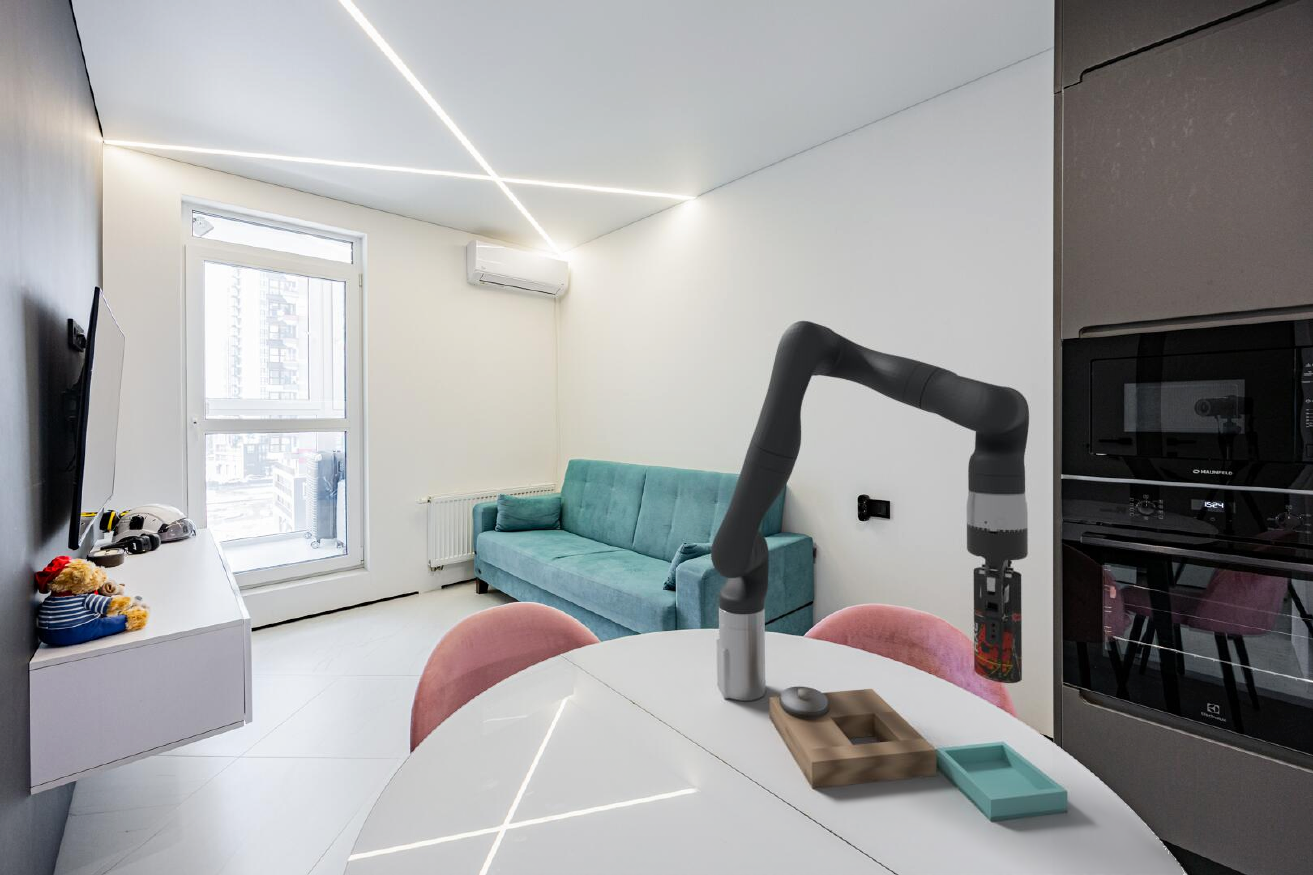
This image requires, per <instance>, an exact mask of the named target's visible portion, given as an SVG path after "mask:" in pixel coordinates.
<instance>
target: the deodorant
mask: <svg viewBox="0 0 1313 875" xmlns="http://www.w3.org/2000/svg"><path fill="white" fill-rule="evenodd" d="M980 568H982V566H980V567H975V568H973V658H974V659H973V667H974V668H973V669H974V672H975V673H976V674H977V675H978V676H980V677H982V678H984V679H986V680H989V681H992V682H997V683H1001V684H1002V683H1003V684H1015V683H1020V682H1021V681H1022V680H1023V679H1022V678H1023V676H1022V675H1023V674H1022V673H1023V671H1022V670H1023V668H1022V665H1023V664H1022V660H1023V656H1022V654H1023V650H1022V648H1023V647H1022V644H1023V643H1022V641H1023V640H1022V638H1023V637H1022V636H1023V632H1022V629H1023V628H1022V626H1023V625H1022V621H1023V620H1022V619H1023V618H1022V614H1023V613H1022V611H1023V610H1022V573H1020V572H1019V571H1016V570H1014V572H1013V573H1012V577H1011V578H1010V577H1004V585H1003V589H1002V591H1003V595H1004V591H1005V588H1006V587H1007V586H1008V585H1009V603H1007V604H1005V613H1004V614H1005V618H1004V643H1003V645H1002V646H997V645H992V644H988V643H987V642H986V641H985V617H983V616H982V614H981V610H982V608H981V597H980V590H981V581H980V578H981V575H983V576H985V574H980V573H979V571H980ZM988 608H990V609H996V610H998V605H997V604H996V603H991V602H988Z"/></svg>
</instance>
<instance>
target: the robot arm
mask: <svg viewBox="0 0 1313 875" xmlns="http://www.w3.org/2000/svg"><path fill="white" fill-rule="evenodd" d="M813 376H823V377H830V378H835V379H840V380H846V381H850V382H853V383H856V384H859V385H863V386H864V387H867V388H869V389H871V390H873V391H875V392H877V393H879V394H881V395H883V396H885V397H887V398H889V399H892V400H895V401H897V402H899V403H902V404H904V405H908V406H910V407H913V408H916V409H918V410H921V411H923V412H928V413H931V414H935V415H938V416H939V417H942V418H943V419H945V420H948V421H950V422H952V423H955V424H956V425H958V426H961V427H963V428H966V429H968V430H970V431H973V432H975V439H974V440H975V441H974V451H973V453H972V454H971V455H970V456H969V460H968V461H969V462H968V468H967V469H968V471H967V472H968V474H967V475H968V477H967V478H968V480H967V482H968V484H967V485H968V486H967V487H968V493H967V494H968V495H967V500H966V501H967V502H966V550H967V552H968V554H971V555H973V556H975V557H981V558H983V559H984V560H985V561H984V563H982V564H981V567H982V568H980V571H979V573H980V574H985V576H983V575H981V578H980V581H981V590H980V597H981V608H982V610H981V614H982V616H983V617H985V641H986V642H987V643H988V644H992V645H997V646H1002V645H1003V643H1004V618H1005V614H1004V613H1005V604H1007V603H1009V585H1008V586H1007V587H1006V588H1005V591H1004V595H1003V591H1002V589H1003V585H1004V577H1010V578H1011V577H1012V573H1013V572H1014V571H1015V568H1014V567H1012V564H1013V561H1018V560H1019V561H1020V560H1023V559H1026V558H1027V557H1028V554H1029V551H1028V549H1029V548H1028V546H1029V544H1028V543H1029V542H1028V541H1029V538H1028V537H1029V536H1028V533H1029V532H1028V531H1029V530H1028V525H1029V524H1028V522H1029V521H1028V520H1029V519H1028V515H1029V514H1028V512H1029V511H1028V503H1027V497H1026V468H1025V454H1026V450H1027V449H1026V448H1027V442H1028V434H1029V427H1030V426H1029V425H1030V409H1029V408H1030V407H1029V405H1028V401H1027V399H1026V398H1025V396H1024V395H1023V394H1022V393H1021V391H1019V390H1018V389H1015V388H1012V387H1009V386H1001V385H997V384H992V383H988V382H985V381H981V380H977V379H973V378H969V377H965V376H962V375H959V374H957V373H956V372H954V371H951V370H950V369H945V368H944V367H940V366H937V365H933V364H930V363H926V362H923V361H920V360H917V359H912V358H908V357H905V356H900V355H894V354H889V353H886V352H881V351H877V350H874V349H871V348H869V347H865V346H862V345H861V344H858V343H856V342H854V341H852V340H851V339H849V338H847V337H844V336H843V335H841V334H839V333H837V332H835V331H834V330H833V329H831V328H829V327H827V326H825V325H821V324H818V323H815V322H812V321H809V320H808V321H807V320H800V321H797V322H794V323H792V324H791V325H790V326H788V328H787V329H786V330H784V333H782V335H781V338H780V340H779V343H778V345H777V349H776V353H775V356H774V362H773V366H772V369H771V375H770V380H769V385H768V387H767V392H766V395H765V398H764V401H763V404H762V408H761V410H760V413H759V417H758V419H757V422H756V425H755V428H754V431H753V434H752V436H751V440H750V442H749V444H748V448H747V450H746V454H745V457H744V460H743V464H742V468H741V470H740V473H739V476H738V479H737V481H736V486H735V488H734V492H733V494H732V498H731V500H730V503H729V506H728V508H727V511H726V513H725V515H724V517H723V518H722V519H723V520H722V521H721V524H720V525H719V528H718V530H717V532H716V534H715V536H714V538H713V541H712V544H711V550H710V557H711V563H712V565H713V567H714V570H716V572H717V573H718V574H719V575H720V576H722V577H724V578H726V579H725V582H724V584H723V586H722V587H721V589H720V591H719V593H718V632H719V633H718V635H719V636H718V639H716V682H717V683H716V685H717V687H718V689H719V691H720V692H721V695H722V697H723V699H730V700H736V701H743V702H744V701H748V702H749V701H755V700H758V699H761V697H762V698H763V697H764V695H766V694H765V693H766V682H767V681H766V635H765V634H766V631H765V630H766V626H765V621H766V620H765V618H766V617H765V615H766V614H765V601H766V600H765V599H766V598H767V594H768V589H769V572H770V569H769V568H770V566H769V564H770V563H769V562H770V557H769V556H770V554H769V546H768V542H767V540H766V538H765V536H764V534H763V533H762V532H761V530H760V528H761V525H762V522H763V521H764V518H765V516H766V515H767V513H768V512H769V510H770V508H772V506H773V504H774V503H775V502H776V500H777V499H778V497H779V496H780V494H781V493H782V492H783V490H784V488H785V487H786V485H787V483H788V482H789V479H790V477H791V476H792V472H793V470H794V467H795V465H796V461H797V460H798V457H799V454H800V450H801V446H802V445H801V444H802V420H801V419H802V417H801V416H802V406H803V401H804V397H805V395H806V392H807V390H808V386H809V385H810V384H809V383H810V381H811V380H812V377H813ZM988 602H991V603H996V604H997V605H998V610H996V609H990V608H988Z"/></svg>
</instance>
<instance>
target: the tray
mask: <svg viewBox="0 0 1313 875" xmlns="http://www.w3.org/2000/svg"><path fill="white" fill-rule="evenodd" d="M935 749H936V769H938V770H939V771H940V772H941V773H942V775H943V776H945V778H947V779H948V780H949V781H950V782H951V784H952V785H953V786H954V787H956V788H957V787H958V788H959V789H958V788H957V789H958V790H959V791H960V793H962V794H963V795H964V796H965V798H967V799H968V800H969V801H970V800H971V801H970V802H971V803H972V804H973V805H974V806H975V807H976V809H978V810H979V811H980V812H981V814H983V815H984V816H985V817H986V818H987V819H988V820H989V821H990V822H996V821H1004V820H1006V821H1007V820H1011V819H1012V820H1013V819H1021V818H1031V817H1038V816H1039V817H1040V816H1046V815H1048V816H1049V815H1055V814H1064V813H1068V790H1067V789H1066V788H1064V787H1063V786H1062V785H1060V784H1059V783H1058V782H1056V780H1054V779H1053V778H1051V777H1050V776H1049V775H1047V774H1046V773H1045V772H1043V771H1042V770H1041V769H1040V768H1038V767H1037V766H1036V765H1035V764H1033V763H1032V762H1031V761H1029V760H1028V759H1027V758H1026V757H1024V756H1023V755H1021V754H1020V753H1019V752H1017V751H1016V750H1015V749H1014V748H1013V747H1011V745H1009V744H1008V743H1006V742H1005V741H997V742H996V741H995V742H983V743H976V744H975V743H974V744H964V745H958V746H957V745H956V746H954V745H953V746H944V747H936V748H935Z"/></svg>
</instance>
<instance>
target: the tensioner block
mask: <svg viewBox="0 0 1313 875" xmlns="http://www.w3.org/2000/svg"><path fill="white" fill-rule="evenodd" d="M769 719H771V720H770V721H771V723H772V725H773V724H774V725H773V726H774V728H775V729H776V731H777V733H778V734H779V736H780V738H781V739H782V741H783V743H784V745H785V746H786V749H788V751H789V753H790V754H791V755H792V757H793V759H794V761H795V763H796V764H797V766H798V768H799V769H800V770H801V773H802V774H803V776H804V777H805V779H806V780H807V782H808V784H809V785H810V787H811V788H812V789H818V788H819V789H820V788H829V787H835V786H836V787H837V786H838V787H839V786H847V785H856V784H857V785H858V784H865V783H874V782H875V783H876V782H885V781H893V780H903V779H904V780H905V779H912V778H921V777H923V778H924V777H930V776H932V775H933V776H937V767H936V748H935V747H934V746H933V745H932V744H931V743H930V742H929V741H928V740H927V739H926V738H925V737H924V736H923V735H922V734H921V733H919V732H918V730H916V729H915V728H914V727H913V726H912V725H911V724H910V723H909V722H908V721H907V720H905V718H904V717H902V716H901V714H900V713H898V712H897V711H896V710H895V709H894V708H893V707H892V706H891V705H890V704H889V703H888V702H886V701H885V700H884V699H883V698H882V696H880V695H879V694H878V693H877V692H876V691H875V690H874V689H873V688H864V689H854V690H853V689H852V690H843V691H842V690H841V691H830V692H829V691H827V692H821V691H820V690H817V689H815V688H813V687H808V686H791V687H788V688H785V689H784V690H783V691H781V693H780V694H779V696H770V697H769ZM867 737H875V739H876V740H877V741H878V742H871V743H862V744H852V742H851V741H850V740H849V739H854V738H855V739H857V738H867Z"/></svg>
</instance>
